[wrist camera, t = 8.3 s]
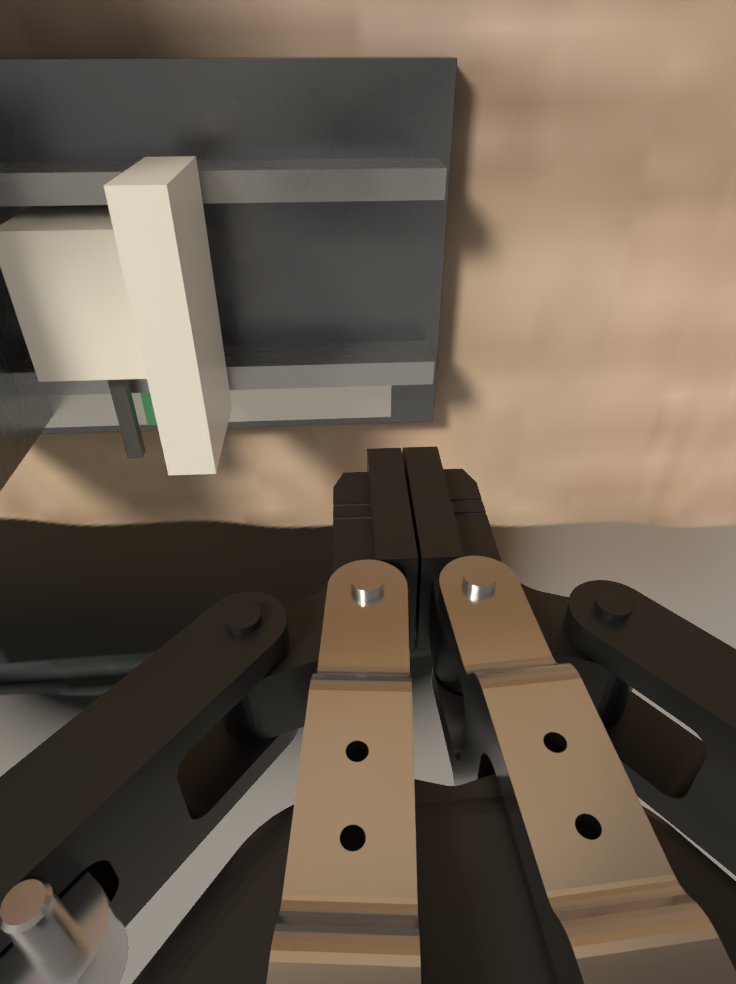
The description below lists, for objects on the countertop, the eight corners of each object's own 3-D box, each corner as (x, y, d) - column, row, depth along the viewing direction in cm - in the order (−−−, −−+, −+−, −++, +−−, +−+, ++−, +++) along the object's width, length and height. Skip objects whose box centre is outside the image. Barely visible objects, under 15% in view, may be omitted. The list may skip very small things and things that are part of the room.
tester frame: (451, 57, 22) (517, 67, 15) (429, 409, 31) (464, 529, 23) (-168, 59, 21) (-430, 71, 14) (-19, 423, 29) (-133, 554, 22)
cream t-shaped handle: (206, 145, 22) (166, 184, 16) (243, 419, 29) (223, 517, 23) (13, 147, 22) (-99, 188, 16) (93, 423, 28) (35, 525, 22)
